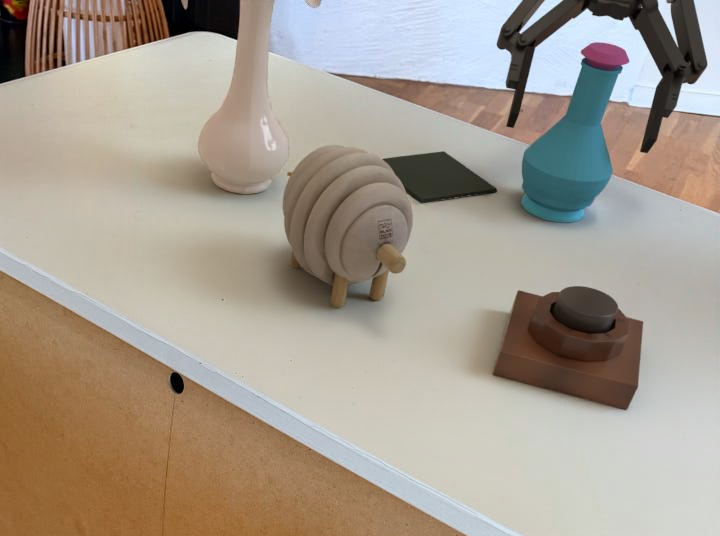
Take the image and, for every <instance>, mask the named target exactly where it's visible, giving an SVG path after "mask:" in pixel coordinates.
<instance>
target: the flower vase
mask: <svg viewBox="0 0 720 536" xmlns="http://www.w3.org/2000/svg"><path fill="white" fill-rule="evenodd" d="M188 1H189V0H181V4H182V6H183V8H184V10H187V8H188V3H189V2H188ZM304 1H305V3H306V4H307V6H309V7H310V8H312V9H317V8H318V7H320V5H321V4H322V0H304ZM275 2H276V0H239V22H238V30H237V31H238V32H237V40H236V48H235V49H236V50H235V58H234V66H233V71H232V77H231V80H230V81H231V82H230V85H229V88H228V91H227V93H226V96H225V97H224V100H223V102H222V104H221V106H220V107H218V109H217V110H216V111H215V112H214V113H213V114H212V115H211V116H210V117H209V118H208V119H207V121H206V122H205V123H204V124H203V126H202V127H201V129H200V132H199V136H198V141H197V152H198V154H199V157H200V158H201V161H202V162H203V164H204V165H205V167H206V169H208V170H209V171H210V178H211V181H212V182H213V184H214V185H215V186H217V187H218V188H220V189H221V190H224V191H227V192H230V193H234V194H241V195H253V194H257V193H263V192H264V191H265V190H267V189H268V188H269V187H270V185H271V183H272V179H273V178H275V177H276V176H277V175H279V174H280V172H282V170H284V168H285V166H286V165H287V163H288V161H289V159H290V153H291V151H290V141H289V137H288V135H287V132H286V130H285V128H284V126H283V125H282V124H281V122H280V120H279V119H278V118H277V116H276V115H275V112H274V109H273V107H272V102H271V98H270V92H269V83H268V75H269V74H268V73H269V55H270V53H269V52H270V42H271V41H270V40H271V27H272V18H273V13H274V12H273V11H274V7H275Z"/></svg>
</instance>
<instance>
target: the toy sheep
mask: <svg viewBox="0 0 720 536" xmlns="http://www.w3.org/2000/svg"><path fill="white" fill-rule="evenodd" d="M383 159H384V158H381V157H380V156H378V155H375V154H373V153H370V152H367V151H366V150H364V149H361V148H358V147H355V146H344V145H342V144H329V145H325V146H321V147H319V148H317V149H315V150H313V151H311V152H310V153H308V154H307V155H306V156H305V157H303V158H302V159H301V160H300V161H299V162H298V164H297V165H296V166H295V168H294V169H293V170H292V171H287V173H286V176H288V177H289V178H288V179H287V182H286V185H285V188H284V191H283V197H282V212H283V223H284V232H285V235H286V240H287V242H288V244H289V245H290V247H291V254H290V262H289V263H290V265H291V266H292V267H293V268H298V269H299V268H302V269H303V270H304V271H305V272H307V273H308V274H310V275H311V276H314V277H316V278H318V279H319V280H320V281H322V282H324V283H325V284H328V285H331V286H332V291H331V295H330V305H331V307H333V308H336V309H339V308H342V307H344V305H345V303H346V299H347V294H348V289H349V286H351V285H355V284H357V283H360V282H366V281H369V280H371V283H370V290H369V297H370V299H371V300H373V301H381V300H382V299H383V298H384V295H385V291H386V288H387V281H388V276H389V272H390V273H391V274H394V275H397V274H401V273H402V272H403V271H404V270H405V268H406V265H407V260H406V258H405V257H404V256H403V255H402V254H403V252H404V251H405V250H406V249H405V248H406V247H407V244H408V242H409V240H410V237H411V234H412V230H413V224H414V212H413V208H412V203H411V201H410V199H409V197H408V195H407V194H408V193H407V192H406V191H405V188H404V186H403V184H402V182H401V181H400V179H399V178H398V177H397V176H396V175H395V173H394V172H393V170H392V168H391V167H390V166H389V165H388V164H387V163H386V162H385V161H384V160H383Z"/></svg>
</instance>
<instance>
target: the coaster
mask: <svg viewBox="0 0 720 536" xmlns="http://www.w3.org/2000/svg"><path fill="white" fill-rule="evenodd" d="M382 159H383V160H384V161H385V162H386V163H387V164H388V165H389V166H390V167H391V168H392V170H393V172H394V173H395V175H396V176H397V177H398V178H399V179H400V181H401V182H402V184H403V186H404V188H405V191H406V193H407V194H409V195H410V196H411V197H412V198H414V199H415V200H416V201H417V202H419V203H421V204H423V203H430V202H436V200H438V201H443V200H442V199H445V200H450V199H449V198H452V199H456V198H455V197H459V198H462V197H461V196H466V197H469V196H468V195H472V196H476V195H475V194H479V195H485V193H486V194H491V193H496V192H497V190H498V188H497V187H495V185H493V184H491V183H490V182H489V181H487V180H486V179H484V178H483V177H481V176H480V175H479V174H477V173H476V172H474V171H473V170H472V169H470V168H468V167H467V166H466V165H464V164H462V163H461V162H460V161H458V160H457V159H456V158H454V157H453V156H452V155H450V154H449V153H447V152H446V151H444V150H443V151H435V152H426V153H418V154H409V155H400V156H391V157H385V158H382Z"/></svg>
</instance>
